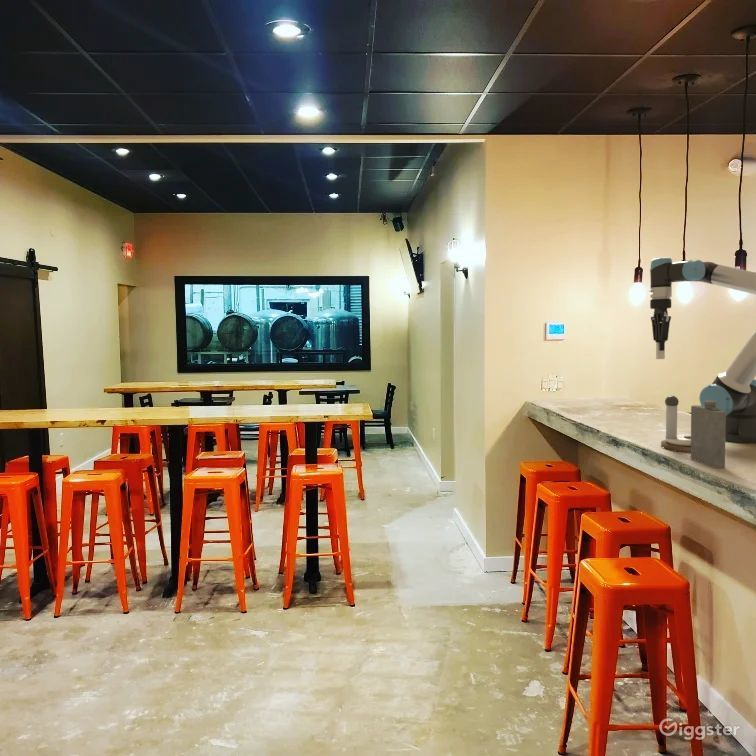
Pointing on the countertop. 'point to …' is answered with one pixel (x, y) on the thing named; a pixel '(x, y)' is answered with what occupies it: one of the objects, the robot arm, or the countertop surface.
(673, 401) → the light grey l-shaped piece
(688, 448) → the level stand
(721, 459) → the hip flask
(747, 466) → the countertop surface
